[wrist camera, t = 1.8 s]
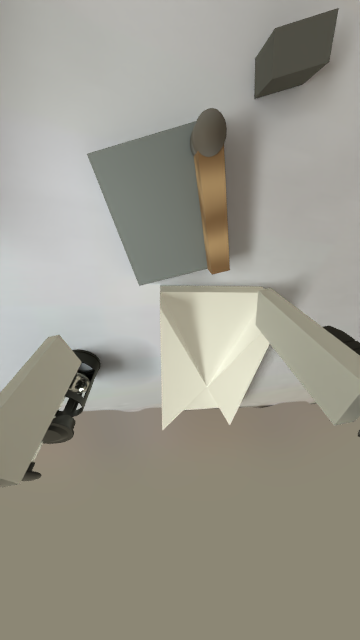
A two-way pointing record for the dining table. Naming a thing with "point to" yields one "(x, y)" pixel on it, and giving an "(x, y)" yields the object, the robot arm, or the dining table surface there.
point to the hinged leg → (212, 186)
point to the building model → (208, 347)
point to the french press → (68, 408)
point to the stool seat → (154, 202)
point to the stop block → (294, 53)
